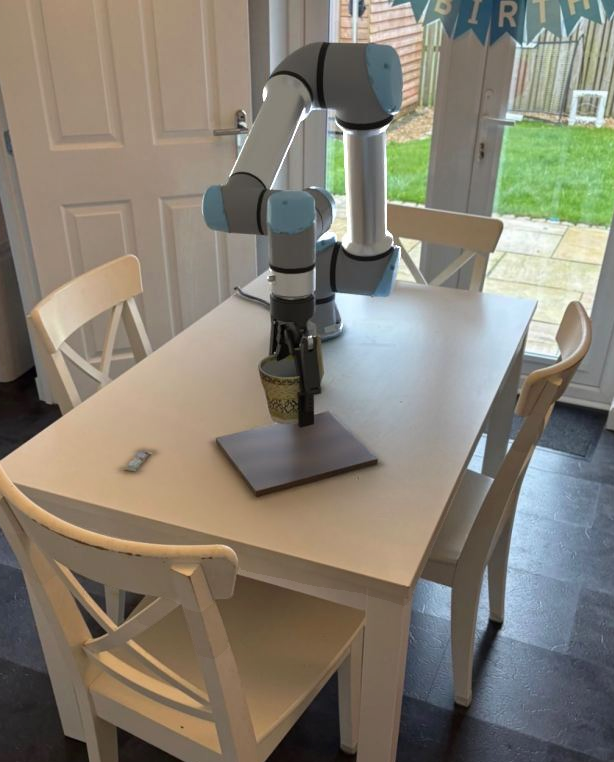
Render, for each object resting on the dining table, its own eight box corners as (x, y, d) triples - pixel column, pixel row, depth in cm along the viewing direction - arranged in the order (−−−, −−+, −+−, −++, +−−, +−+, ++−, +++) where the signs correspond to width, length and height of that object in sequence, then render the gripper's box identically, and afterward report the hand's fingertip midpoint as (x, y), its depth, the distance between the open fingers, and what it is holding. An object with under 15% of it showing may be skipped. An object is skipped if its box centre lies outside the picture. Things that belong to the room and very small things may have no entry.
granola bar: (135, 474, 141) (135, 469, 140) (124, 471, 141) (123, 467, 141) (152, 455, 146) (152, 450, 145) (141, 453, 147) (140, 448, 146)
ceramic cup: (295, 435, 135) (295, 383, 129) (249, 419, 139) (246, 368, 134) (335, 404, 144) (336, 355, 138) (290, 391, 149) (289, 342, 143)
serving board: (215, 443, 149) (215, 437, 148) (328, 416, 158) (328, 410, 157) (256, 497, 134) (255, 491, 133) (377, 464, 143) (378, 458, 142)
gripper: (246, 275, 135) (252, 391, 148) (300, 318, 119) (301, 445, 132) (286, 269, 138) (288, 384, 150) (343, 310, 122) (341, 435, 134)
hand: (294, 412), depth 141 cm, fingers closed on ceramic cup, 9 cm apart
